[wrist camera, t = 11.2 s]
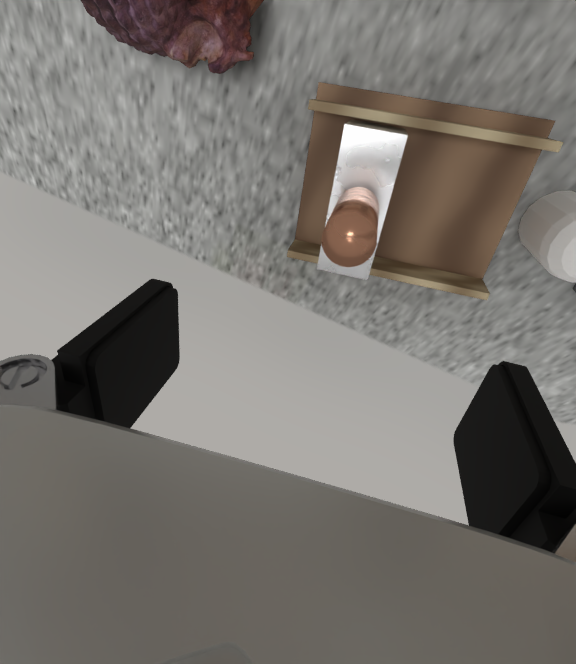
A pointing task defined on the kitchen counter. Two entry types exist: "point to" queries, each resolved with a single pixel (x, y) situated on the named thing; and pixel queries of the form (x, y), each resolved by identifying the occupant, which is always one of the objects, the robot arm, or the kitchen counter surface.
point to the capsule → (552, 233)
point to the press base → (427, 184)
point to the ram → (360, 196)
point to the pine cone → (181, 28)
